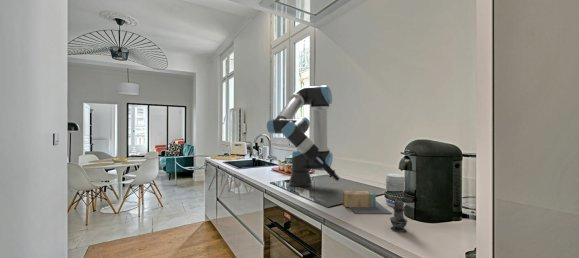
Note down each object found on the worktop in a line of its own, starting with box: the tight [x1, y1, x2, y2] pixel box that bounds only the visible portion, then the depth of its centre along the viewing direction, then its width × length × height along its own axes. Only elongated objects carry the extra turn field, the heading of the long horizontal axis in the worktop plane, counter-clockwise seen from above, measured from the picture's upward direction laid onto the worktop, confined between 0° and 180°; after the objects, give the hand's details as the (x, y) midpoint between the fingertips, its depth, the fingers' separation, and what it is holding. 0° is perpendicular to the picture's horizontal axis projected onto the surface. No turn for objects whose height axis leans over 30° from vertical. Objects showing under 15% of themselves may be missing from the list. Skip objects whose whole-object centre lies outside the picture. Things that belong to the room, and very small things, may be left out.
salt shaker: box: [389, 197, 409, 234], centre depth 88 cm, size 6×6×12 cm
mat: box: [349, 200, 393, 215], centre depth 116 cm, size 22×16×1 cm
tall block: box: [342, 190, 377, 208], centre depth 116 cm, size 6×6×14 cm
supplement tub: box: [385, 173, 405, 208], centre depth 118 cm, size 10×10×15 cm
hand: (342, 184), depth 116 cm, fingers closed
